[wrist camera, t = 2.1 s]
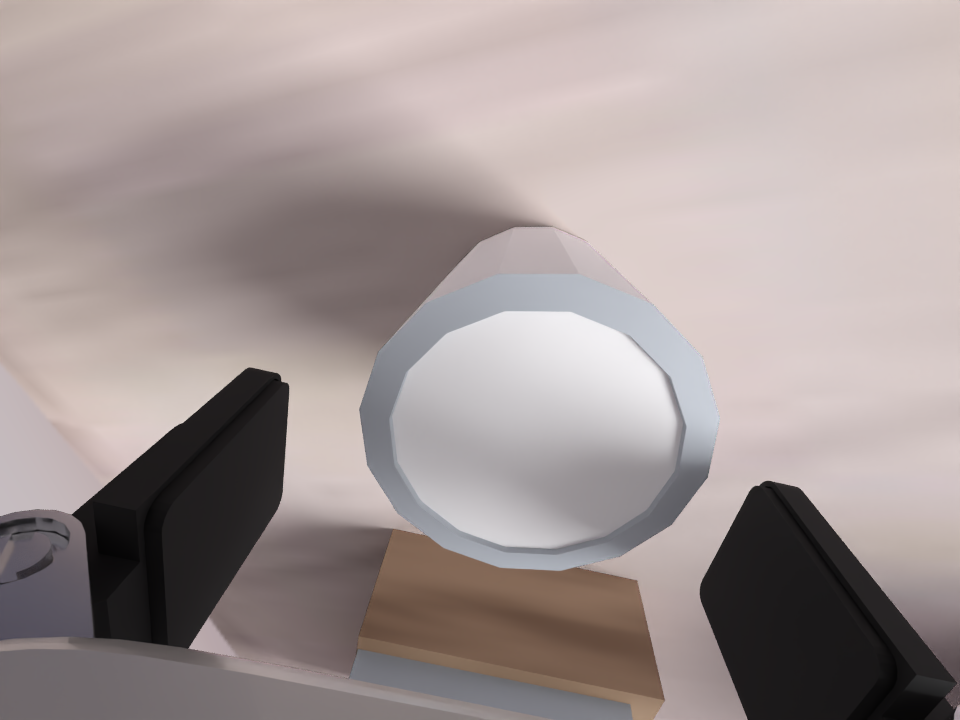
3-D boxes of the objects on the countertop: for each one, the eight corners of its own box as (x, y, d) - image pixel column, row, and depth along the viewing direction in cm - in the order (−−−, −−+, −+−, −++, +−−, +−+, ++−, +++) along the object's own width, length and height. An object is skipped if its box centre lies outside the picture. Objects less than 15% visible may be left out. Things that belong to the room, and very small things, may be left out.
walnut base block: (395, 522, 21) (358, 636, 16) (635, 574, 21) (664, 700, 16) (370, 672, 25) (336, 793, 21) (568, 713, 25) (577, 843, 21)
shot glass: (675, 228, 15) (788, 316, 8) (607, 427, 18) (651, 601, 11) (438, 181, 15) (371, 235, 8) (411, 388, 18) (347, 542, 11)
